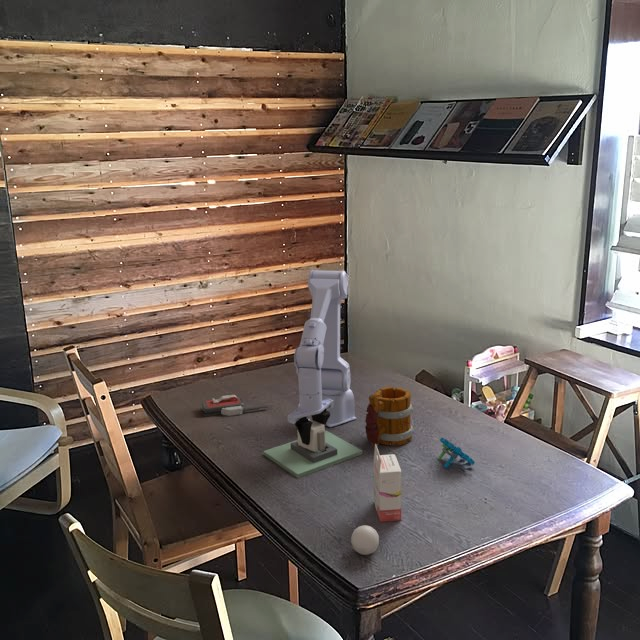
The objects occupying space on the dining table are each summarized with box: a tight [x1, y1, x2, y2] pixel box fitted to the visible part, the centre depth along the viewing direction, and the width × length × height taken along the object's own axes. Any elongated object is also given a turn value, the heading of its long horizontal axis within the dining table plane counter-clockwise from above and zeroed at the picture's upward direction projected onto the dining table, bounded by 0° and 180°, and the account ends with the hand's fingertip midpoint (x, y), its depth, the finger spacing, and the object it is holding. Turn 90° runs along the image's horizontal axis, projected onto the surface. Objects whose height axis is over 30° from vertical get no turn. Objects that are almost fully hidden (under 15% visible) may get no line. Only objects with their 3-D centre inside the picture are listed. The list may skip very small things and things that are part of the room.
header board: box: [262, 429, 363, 479], centre depth 186 cm, size 20×16×2 cm
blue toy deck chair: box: [437, 437, 476, 469], centre depth 177 cm, size 11×6×10 cm
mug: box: [364, 386, 415, 447], centre depth 190 cm, size 11×16×15 cm, turn 137°
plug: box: [296, 418, 326, 452], centre depth 185 cm, size 4×9×6 cm, turn 45°
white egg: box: [350, 524, 381, 556], centre depth 144 cm, size 8×6×6 cm
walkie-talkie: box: [199, 394, 269, 417], centre depth 216 cm, size 9×4×20 cm
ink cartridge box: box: [373, 444, 402, 523], centre depth 156 cm, size 9×5×15 cm, turn 5°
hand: (312, 440), depth 185 cm, fingers closed on plug, 4 cm apart
